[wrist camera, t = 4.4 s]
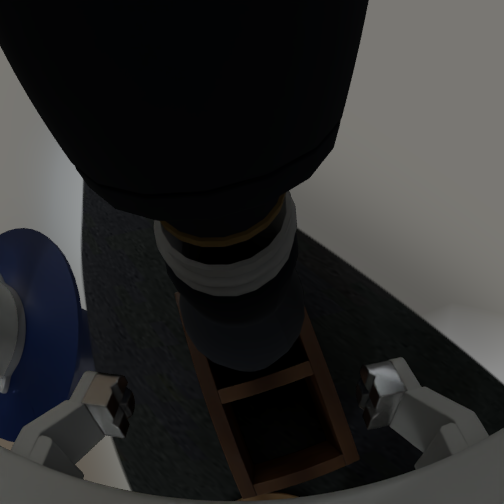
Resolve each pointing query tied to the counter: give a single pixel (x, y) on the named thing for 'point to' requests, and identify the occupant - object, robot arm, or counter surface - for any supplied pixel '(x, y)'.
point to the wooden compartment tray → (220, 397)
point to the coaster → (269, 497)
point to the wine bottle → (199, 137)
